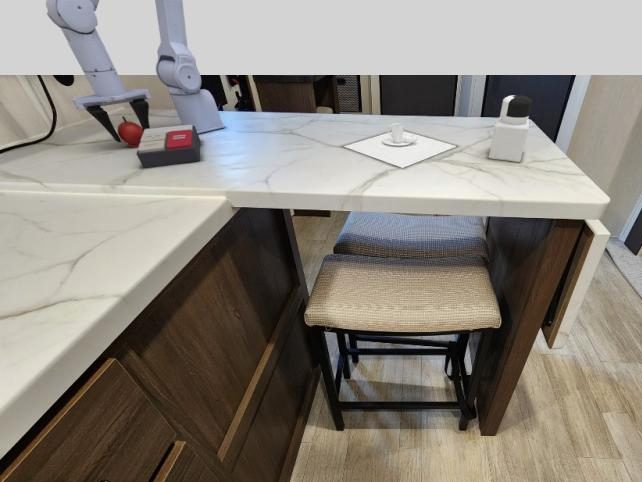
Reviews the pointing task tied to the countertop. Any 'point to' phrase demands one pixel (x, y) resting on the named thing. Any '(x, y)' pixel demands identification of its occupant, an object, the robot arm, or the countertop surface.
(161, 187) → the countertop surface
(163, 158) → the grey box
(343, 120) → the countertop surface
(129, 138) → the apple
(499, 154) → the medicine bottle
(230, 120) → the countertop surface
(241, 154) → the countertop surface
